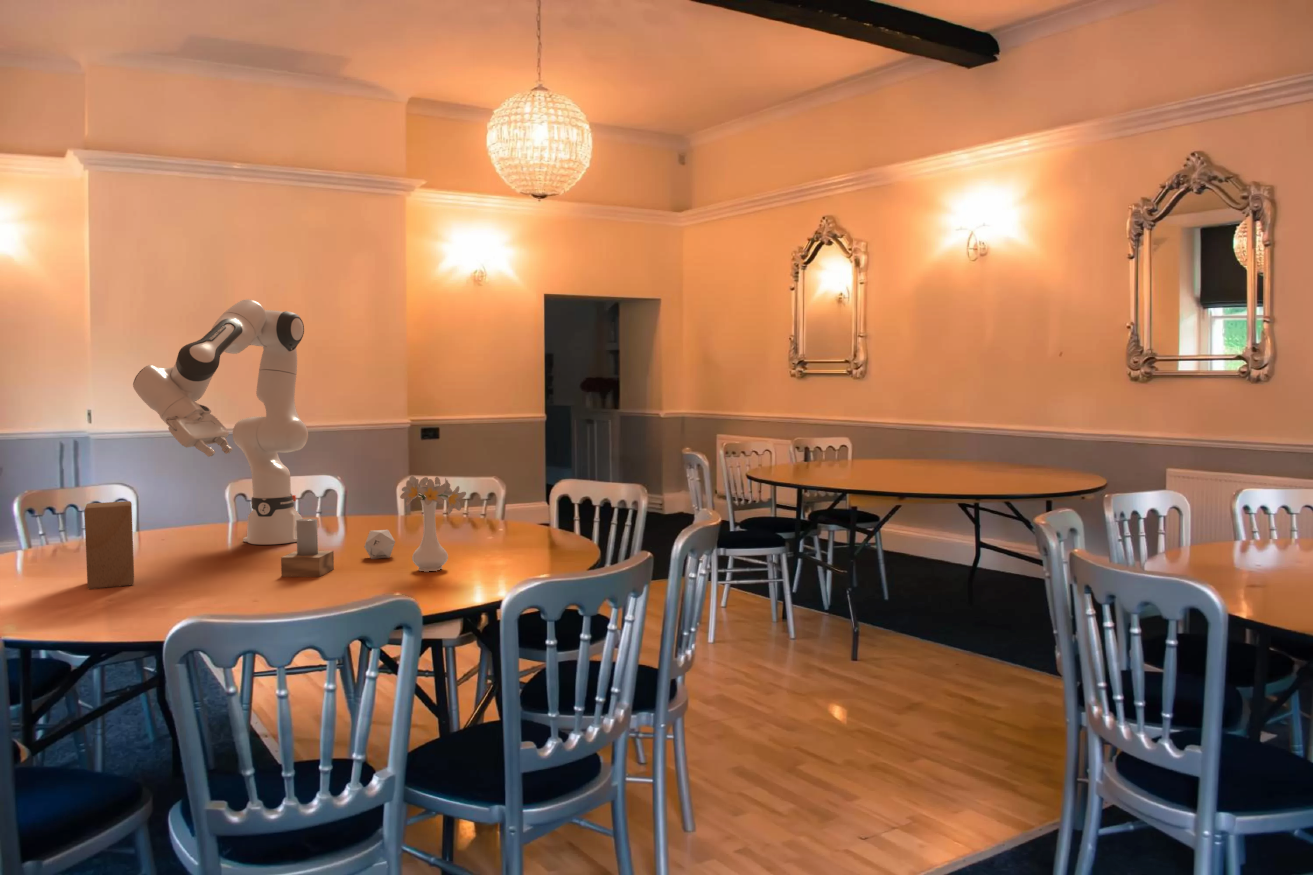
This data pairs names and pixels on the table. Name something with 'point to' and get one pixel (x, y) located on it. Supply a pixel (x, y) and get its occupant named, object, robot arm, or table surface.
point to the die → (379, 544)
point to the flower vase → (431, 518)
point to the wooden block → (109, 544)
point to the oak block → (307, 564)
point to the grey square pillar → (307, 537)
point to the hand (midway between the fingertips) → (221, 453)
